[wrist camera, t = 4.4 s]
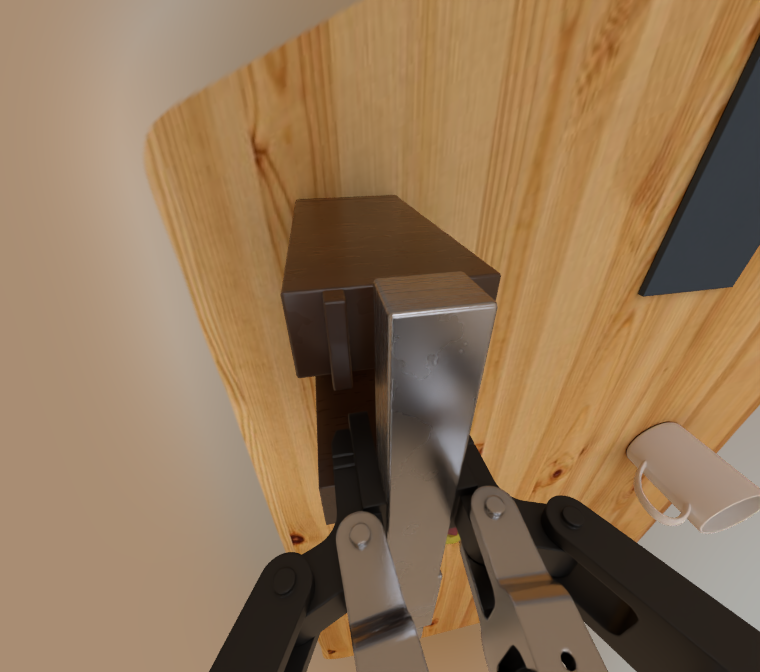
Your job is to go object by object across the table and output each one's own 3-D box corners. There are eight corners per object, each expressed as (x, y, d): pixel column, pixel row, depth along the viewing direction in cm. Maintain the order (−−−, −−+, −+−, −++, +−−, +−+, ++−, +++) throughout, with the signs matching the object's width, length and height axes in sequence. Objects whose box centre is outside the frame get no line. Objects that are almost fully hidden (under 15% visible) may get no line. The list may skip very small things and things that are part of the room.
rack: (295, 199, 20) (277, 307, 8) (395, 194, 21) (517, 284, 9) (318, 354, 26) (327, 543, 14) (393, 345, 27) (461, 515, 15)
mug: (688, 415, 43) (785, 487, 34) (666, 451, 47) (746, 524, 39) (606, 435, 42) (684, 515, 33) (591, 471, 46) (656, 549, 38)
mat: (785, -19, 19) (798, -24, 18) (911, -10, 20) (926, -14, 20) (637, 294, 29) (643, 296, 29) (726, 284, 31) (732, 287, 30)
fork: (338, 280, 6) (345, 319, 5) (493, 266, 7) (537, 298, 6) (369, 638, 19) (374, 675, 18) (423, 624, 20) (431, 659, 19)
